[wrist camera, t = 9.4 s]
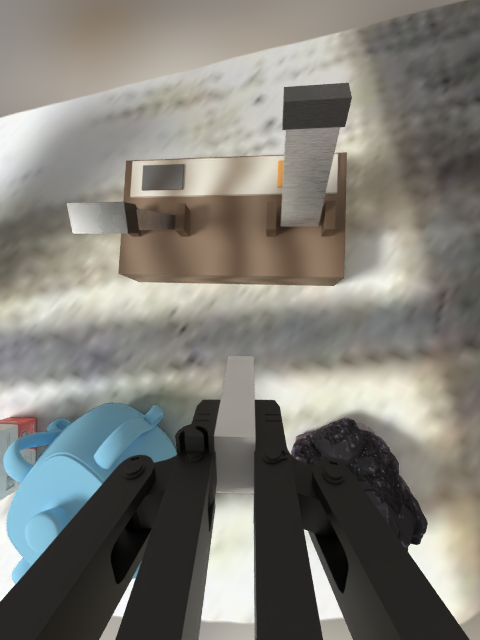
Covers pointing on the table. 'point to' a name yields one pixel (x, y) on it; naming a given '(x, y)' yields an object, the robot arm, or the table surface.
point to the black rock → (367, 472)
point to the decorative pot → (73, 470)
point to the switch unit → (230, 224)
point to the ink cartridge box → (3, 436)
